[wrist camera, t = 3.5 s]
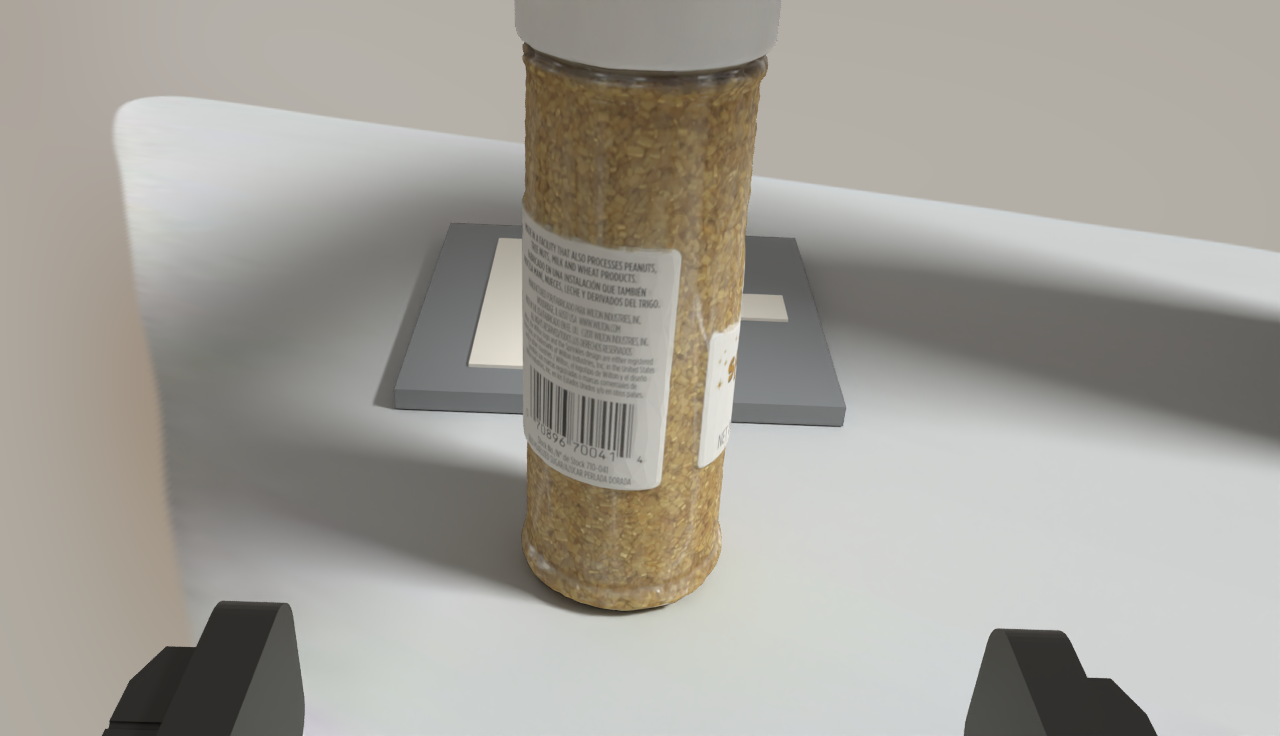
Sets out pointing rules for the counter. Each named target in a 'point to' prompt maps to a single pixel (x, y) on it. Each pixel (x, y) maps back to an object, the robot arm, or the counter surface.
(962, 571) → the counter surface
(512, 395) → the letter mat
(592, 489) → the spice jar
